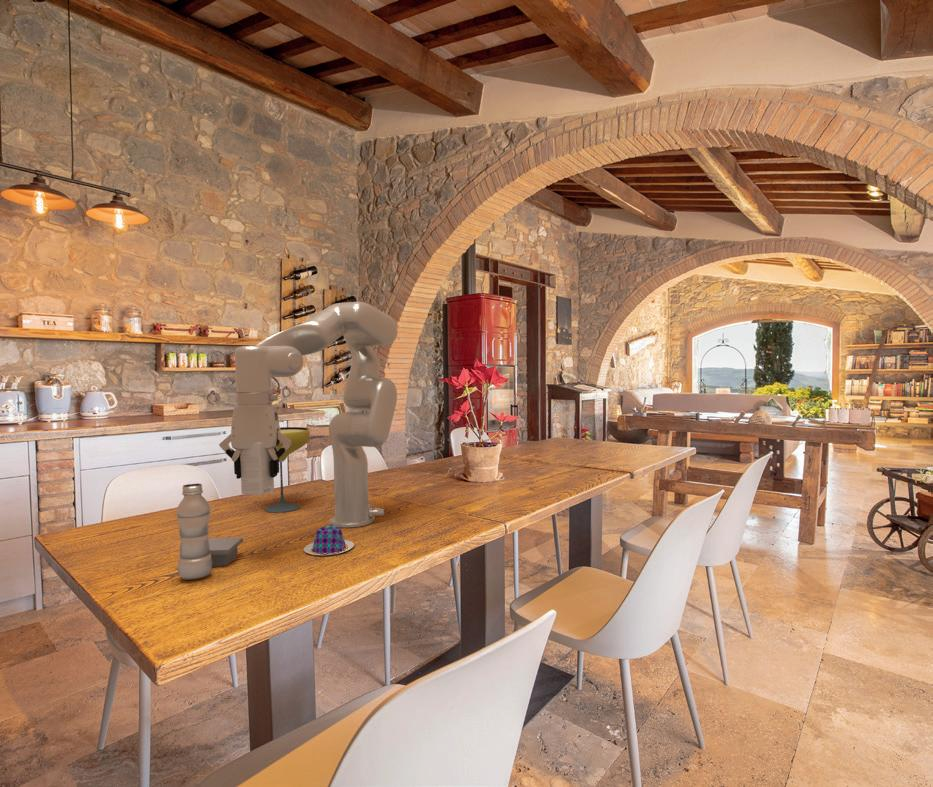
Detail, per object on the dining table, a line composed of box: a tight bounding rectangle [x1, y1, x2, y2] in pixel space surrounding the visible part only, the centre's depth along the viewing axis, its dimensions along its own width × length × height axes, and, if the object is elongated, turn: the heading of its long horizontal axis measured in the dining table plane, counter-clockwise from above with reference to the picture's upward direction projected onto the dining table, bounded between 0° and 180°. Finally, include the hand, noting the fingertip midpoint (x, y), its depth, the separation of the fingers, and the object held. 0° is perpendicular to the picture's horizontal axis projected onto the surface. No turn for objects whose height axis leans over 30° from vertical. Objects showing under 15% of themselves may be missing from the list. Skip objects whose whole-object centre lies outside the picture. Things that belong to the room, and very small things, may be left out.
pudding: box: [303, 525, 355, 556], centre depth 135 cm, size 12×12×5 cm
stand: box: [208, 537, 244, 567], centre depth 128 cm, size 10×9×4 cm
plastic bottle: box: [175, 483, 213, 581], centre depth 117 cm, size 6×7×20 cm
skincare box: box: [240, 443, 275, 496], centre depth 127 cm, size 6×4×12 cm
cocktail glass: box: [264, 426, 311, 514], centre depth 175 cm, size 18×18×25 cm
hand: (257, 476), depth 127 cm, fingers closed on skincare box, 7 cm apart
